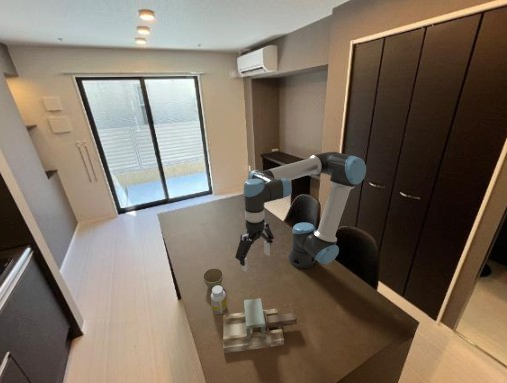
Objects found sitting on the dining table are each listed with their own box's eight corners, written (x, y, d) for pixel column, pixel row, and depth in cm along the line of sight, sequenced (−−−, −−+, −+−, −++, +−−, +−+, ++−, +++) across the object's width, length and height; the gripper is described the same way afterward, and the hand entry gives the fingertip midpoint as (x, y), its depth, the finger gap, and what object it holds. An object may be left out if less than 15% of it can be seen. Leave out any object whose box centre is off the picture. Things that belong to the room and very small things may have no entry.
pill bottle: (227, 302, 107) (225, 283, 102) (226, 314, 101) (224, 294, 96) (213, 303, 106) (211, 284, 102) (211, 315, 100) (208, 295, 96)
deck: (276, 313, 100) (276, 293, 96) (283, 344, 88) (284, 324, 83) (224, 319, 98) (221, 300, 94) (223, 353, 85) (221, 332, 81)
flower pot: (205, 295, 110) (203, 284, 108) (203, 281, 119) (202, 270, 117) (225, 291, 113) (224, 280, 110) (222, 277, 122) (221, 266, 119)
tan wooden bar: (293, 315, 96) (294, 307, 94) (297, 326, 91) (297, 317, 89) (251, 321, 94) (250, 312, 92) (252, 332, 89) (252, 323, 87)
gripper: (269, 204, 99) (269, 245, 107) (223, 227, 83) (227, 273, 91) (282, 210, 94) (281, 252, 102) (236, 235, 78) (240, 282, 86)
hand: (256, 262), depth 96 cm, fingers open, 13 cm apart
